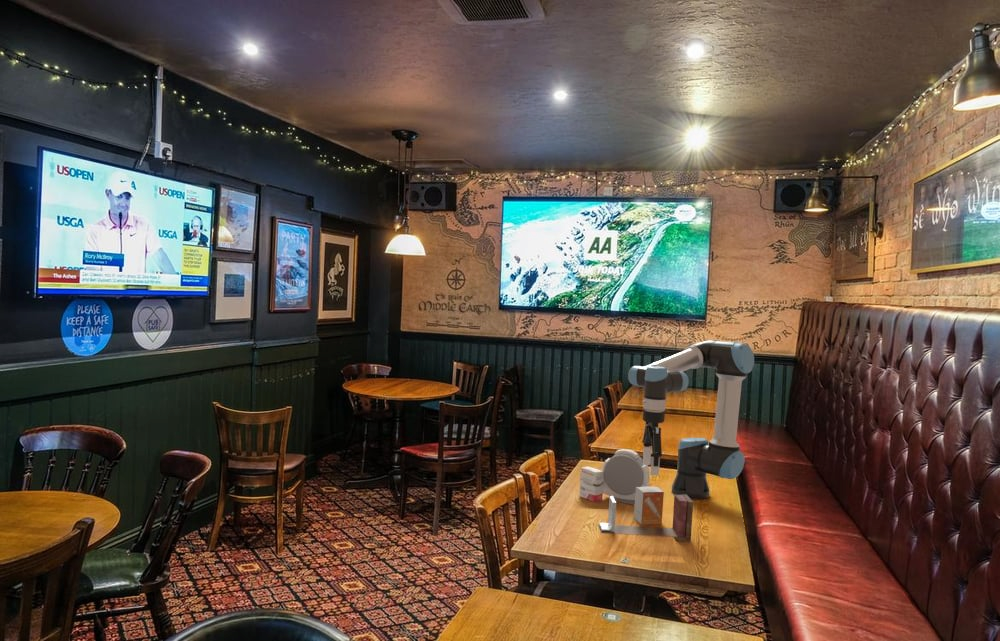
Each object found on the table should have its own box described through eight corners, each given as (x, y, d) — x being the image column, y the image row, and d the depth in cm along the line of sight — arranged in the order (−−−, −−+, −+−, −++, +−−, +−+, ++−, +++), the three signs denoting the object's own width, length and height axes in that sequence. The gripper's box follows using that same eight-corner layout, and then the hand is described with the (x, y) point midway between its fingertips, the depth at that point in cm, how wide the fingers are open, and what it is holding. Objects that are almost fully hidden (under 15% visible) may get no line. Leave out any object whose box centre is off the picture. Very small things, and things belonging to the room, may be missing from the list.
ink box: (602, 500, 257) (604, 470, 256) (594, 502, 254) (596, 472, 253) (587, 494, 263) (588, 465, 263) (578, 496, 260) (580, 467, 260)
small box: (640, 528, 227) (643, 492, 226) (633, 522, 233) (635, 486, 233) (662, 527, 229) (664, 491, 228) (654, 521, 235) (656, 485, 234)
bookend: (611, 524, 225) (613, 496, 224) (614, 532, 218) (616, 502, 217) (599, 523, 225) (600, 495, 224) (602, 531, 218) (603, 502, 217)
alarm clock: (648, 501, 257) (651, 451, 256) (644, 507, 250) (647, 456, 249) (604, 493, 265) (607, 444, 264) (598, 499, 257) (601, 449, 256)
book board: (684, 532, 225) (686, 494, 224) (690, 541, 217) (693, 502, 216) (597, 528, 225) (599, 490, 225) (600, 537, 217) (602, 497, 217)
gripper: (636, 403, 242) (633, 460, 243) (650, 416, 217) (647, 479, 218) (656, 404, 241) (653, 461, 242) (673, 417, 217) (669, 480, 218)
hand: (650, 469), depth 230 cm, fingers open, 13 cm apart
